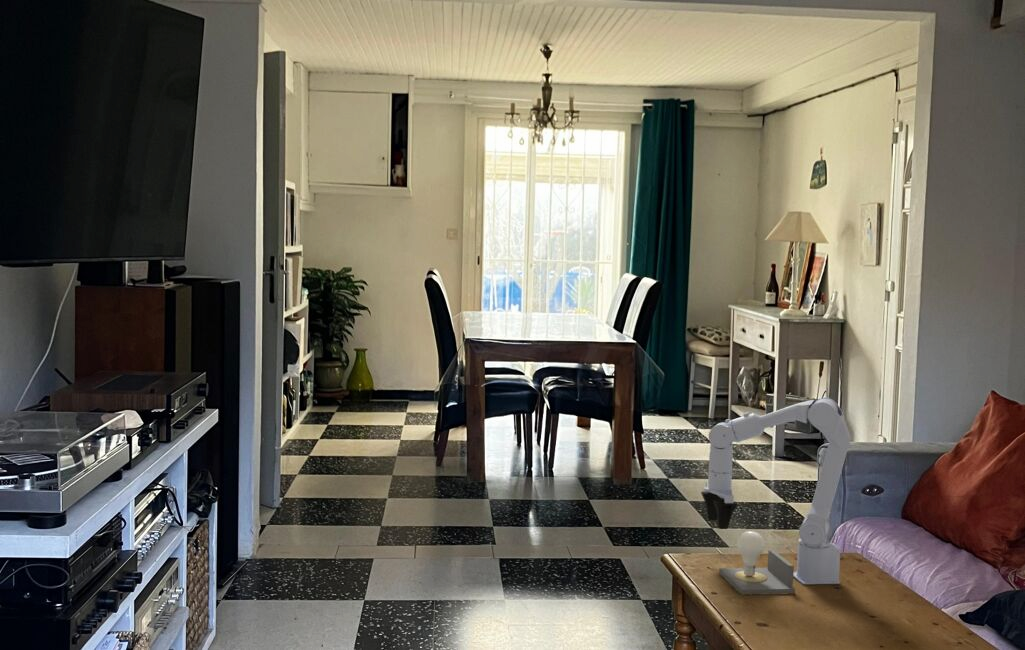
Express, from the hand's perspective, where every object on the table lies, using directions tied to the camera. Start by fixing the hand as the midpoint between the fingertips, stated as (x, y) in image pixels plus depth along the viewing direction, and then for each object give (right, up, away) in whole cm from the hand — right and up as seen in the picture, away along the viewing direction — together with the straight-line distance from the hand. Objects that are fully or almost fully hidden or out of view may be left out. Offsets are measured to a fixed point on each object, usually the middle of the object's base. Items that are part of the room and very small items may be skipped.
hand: (717, 524), depth 247 cm
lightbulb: (+5, -10, -12) cm, 16 cm away
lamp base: (+7, -12, -12) cm, 18 cm away
